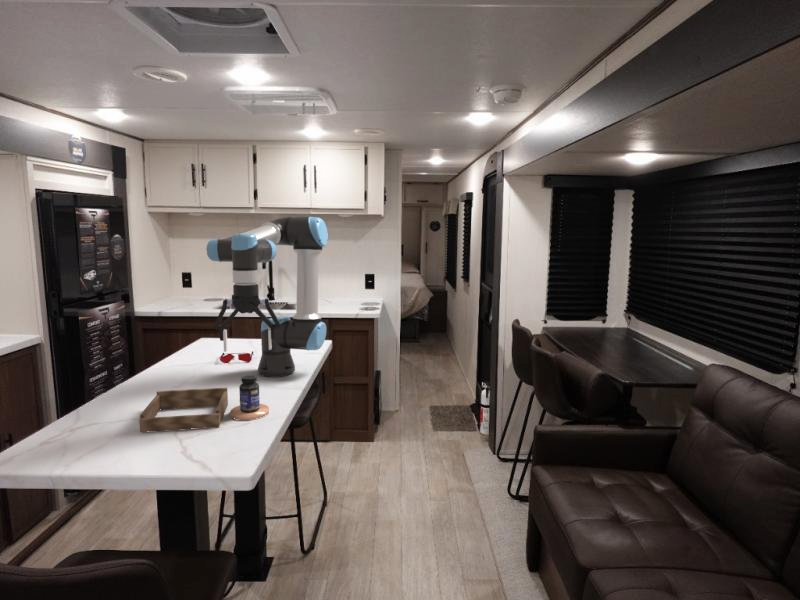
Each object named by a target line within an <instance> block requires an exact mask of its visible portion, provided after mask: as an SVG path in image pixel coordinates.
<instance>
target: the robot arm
mask: <svg viewBox="0 0 800 600" xmlns="http://www.w3.org/2000/svg"><path fill="white" fill-rule="evenodd" d="M328 239H329V235H328V228H327V225H326V223H325V221H324V220H323V219H322V218H320V217H318V216H317V217H316V216H315V217H314V216H283V217H279V218H275V219H273V220H269V221H266V222H264V223H262V224H261V225H260V226H259V227H257V228H253V229H250V230H248V231H245V232H242V233H235V234H232V236H229V237H226V238H212V239H210V240H208V242H207V244H206V248H205V249H206V256H207V257H208V259H209V260H211V261H212V262H219V263H223V262H224V263H225V262H227V263H228V262H232V282H233V283H234V284H233V286H232V287H233V289H232V291H233V299H228V298H225V299H223V301H222V307H221V310H220V312H219V313H218V316H217V317H216V320H215V322H214V324H213V326H212V329H214V330H217V331H219V341H220V342H222V341H223V342H222V343H223V353H226V352H227V351H228V329H226V328H227V326H228V325H229V323H231V321H232V320H233V319H234V318H235V317H236V316H237V315H238V313H239V314H246V313H247V314H254V313H255V314H256V315H257V316H258V317H259V318H260V319H261V320H262V321H261V326H260V327H261V328H260V333H261V334H260V336H261V357H260V360H259V364H258V367H257V374H258V373H259V374H260V375H259V374H258V375H259V376H262V375H263V376H262V377H267V376H279V377H283V376H282V375H286V376H289V375H288V374H290V375H292V374H294V373H295V372H296V364H295V363H294V359H293V356H292V354H291V353H292V352H291V350H301V351H302V350H303V351H305V350H306V351H318V350H320V349H321V348H322V347H323V345H324V343H325V340H326V336H327V325H326V323H325V322H323V321H322V316H321V315H320V314H319V313H318V311H319V307H318V306H319V256H320V254H321V253H322V252H323V247H324V248H325V247H326V246H327V244H328ZM276 246H292V247H293V251H294V252H295V254H296V313H295V314H294V315H293V316H292V320H291V317H290V316H288V315H284V316H283V315H282V316H277V315H276V313H275V311H274V310H273V308H272V306H271V304H270V300H269V297H266V298H262V299H260V295H259V284H257V283H258V282H259V270H258V268H259V267H258V265H259V263H268V262H272V261H273V260H274V259H275V258H276V256H277V251H278V249H277V247H276ZM260 304H262V305H263V306H264V307H265V308H266V309H265V310H267V312H268V314H269V316H270V318H268V316H267V315H265V313H264V312H263V311H262V310H261V309H260V308H259V306H260ZM231 305H233V307H234V310H233V311H232V313H230V314H229V316H228V317H227V318H226V319H225V321H224V322H223V323H222V324H221V325H220V323H221V321H222V320H223V317H224V315H225V313H226V311H227V309H228V307H230V306H231ZM294 371H295V372H294ZM293 372H294V373H293ZM291 373H292V374H291Z"/></svg>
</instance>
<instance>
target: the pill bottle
mask: <svg viewBox="0 0 800 600" xmlns="http://www.w3.org/2000/svg"><path fill="white" fill-rule="evenodd" d="M240 378H241V384H240V385H239V389H238V390H239V406H240V410H241V411H242V412H245V413H252V412H255V411H257V410H259V408H260V404H261V403H260V385H259V383H258V382H257V380H258V379H257V378H258V377H257V375H254V374H249V375H248V374H247V375H243V376H241V377H240Z"/></svg>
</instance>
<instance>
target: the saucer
mask: <svg viewBox="0 0 800 600" xmlns="http://www.w3.org/2000/svg"><path fill="white" fill-rule="evenodd" d="M229 411H230V412H229V413H230V418H231V417H232V418H231V419H233V418H235V419H234V420H236V419H240V420H239V421H251V420H250V419H255V420H257V419H256V418H259V419H261V418H260V417H262V418H264V417H266V416H267V414H268V415H269V414H270V413H269V412H270V407H269V406H268V405H267V404H263V403H260V408H259V410H257V411H255V412H252V413H245V412H242V411H241V410H240V405H237V406H234V407H233V408H231V410H229ZM265 415H266V416H265ZM263 416H264V417H263Z"/></svg>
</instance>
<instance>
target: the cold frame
mask: <svg viewBox="0 0 800 600" xmlns="http://www.w3.org/2000/svg"><path fill="white" fill-rule="evenodd" d="M228 398H229V396H228V387H212V388H191V389H189V388H188V389H174V390H173V389H172V390H156V394H155V396H154V398H153V399H152V400H151V401H150V402H149V404H148V405H147V406H146V407H145V408H144V410H142V412H141V413H140V414H139V419H138V423H139V433H140V432H142V433H148V432H147V431H157V432H166V431H165V430H171V431H181V430H180V429H186V430H192V429H191V428H200V429H205V428H204V427H215V428H220V427H219V426H221V423H222V422H221V421H223V419H224V416H225V414H224V413H226V410H227V408H228V405H229V400H228ZM204 407H206V408H207V407H216V408H215V413H204V414H201V413H200V414H189V415H172V416H171V415H169V416H157V415H158V414H159V412H160V411H161V410H172V409H173V408H176V409H189V408H191V409H192V408H193V409H194V408H204ZM160 409H161V410H160ZM157 413H158V414H157Z"/></svg>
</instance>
